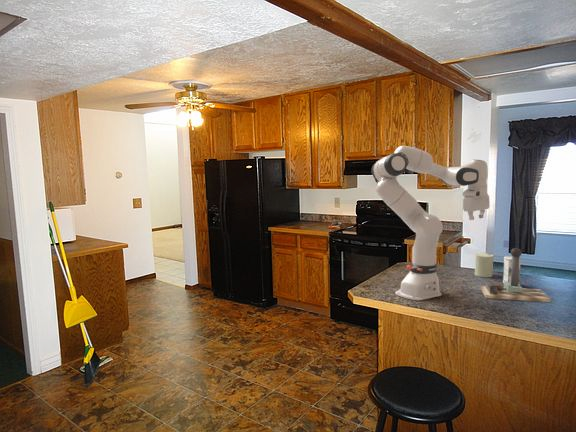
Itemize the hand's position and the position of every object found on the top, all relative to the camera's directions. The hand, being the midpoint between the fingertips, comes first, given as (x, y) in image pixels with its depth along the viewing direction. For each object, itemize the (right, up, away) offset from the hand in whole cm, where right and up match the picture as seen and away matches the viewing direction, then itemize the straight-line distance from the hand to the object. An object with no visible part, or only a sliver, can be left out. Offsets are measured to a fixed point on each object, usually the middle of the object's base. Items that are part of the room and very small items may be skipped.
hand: (476, 219), depth 200 cm
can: (+14, -32, +20) cm, 40 cm away
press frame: (+10, -36, -15) cm, 40 cm away
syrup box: (+18, -34, +1) cm, 39 cm away
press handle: (+10, -33, -15) cm, 38 cm away
